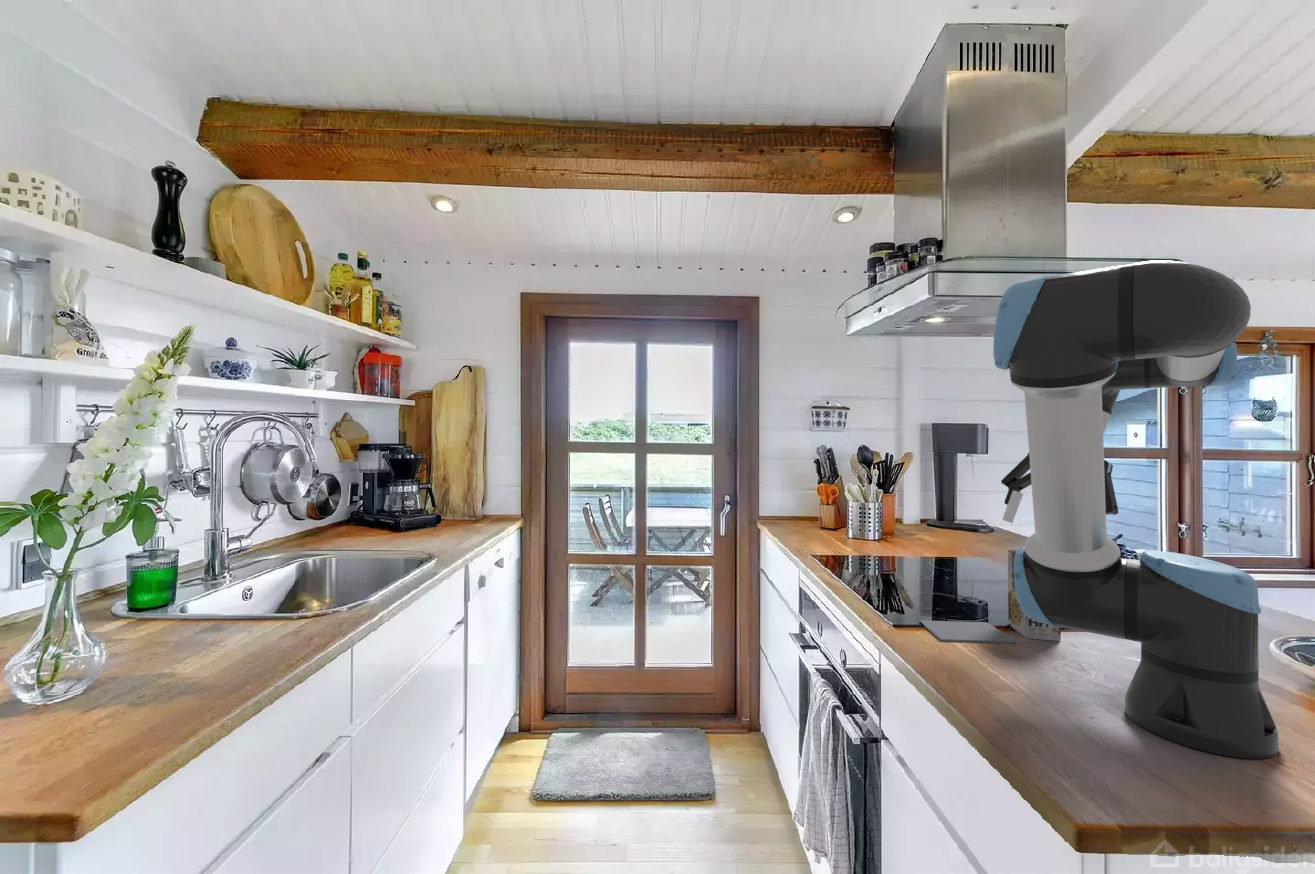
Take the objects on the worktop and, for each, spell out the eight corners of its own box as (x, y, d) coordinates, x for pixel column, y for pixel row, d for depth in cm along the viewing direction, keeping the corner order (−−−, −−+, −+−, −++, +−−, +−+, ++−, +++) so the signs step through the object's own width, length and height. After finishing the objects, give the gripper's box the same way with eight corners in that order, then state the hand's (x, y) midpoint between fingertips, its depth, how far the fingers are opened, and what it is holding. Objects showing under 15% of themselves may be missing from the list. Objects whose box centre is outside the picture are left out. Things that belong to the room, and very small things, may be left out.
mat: (987, 624, 119) (987, 622, 119) (1016, 643, 108) (1016, 641, 108) (919, 622, 120) (919, 620, 120) (940, 641, 109) (940, 639, 109)
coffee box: (1062, 641, 109) (1062, 559, 109) (1025, 639, 110) (1026, 557, 110) (1040, 626, 118) (1040, 549, 118) (1006, 624, 119) (1006, 548, 119)
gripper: (1165, 449, 101) (1124, 559, 101) (1023, 425, 122) (990, 516, 123) (1149, 438, 97) (1106, 553, 98) (1006, 415, 119) (971, 509, 119)
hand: (1041, 532), depth 110 cm, fingers open, 13 cm apart
